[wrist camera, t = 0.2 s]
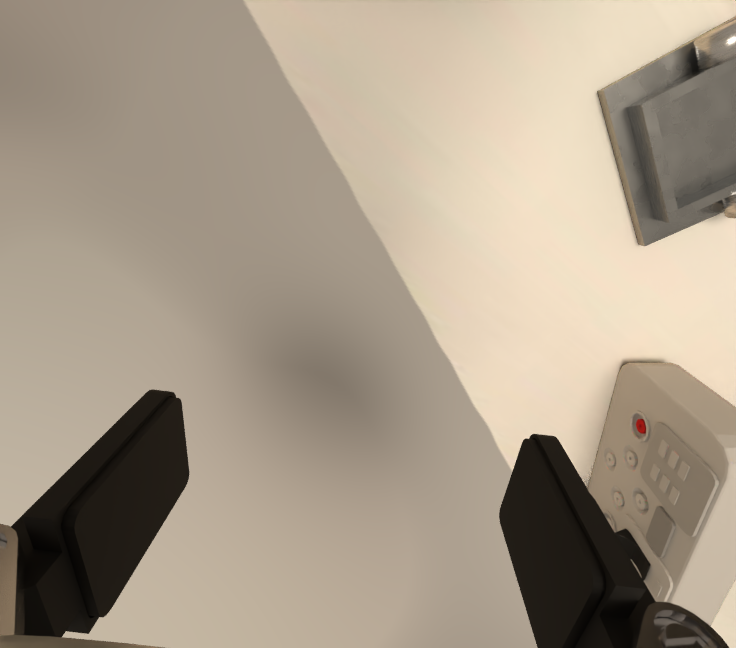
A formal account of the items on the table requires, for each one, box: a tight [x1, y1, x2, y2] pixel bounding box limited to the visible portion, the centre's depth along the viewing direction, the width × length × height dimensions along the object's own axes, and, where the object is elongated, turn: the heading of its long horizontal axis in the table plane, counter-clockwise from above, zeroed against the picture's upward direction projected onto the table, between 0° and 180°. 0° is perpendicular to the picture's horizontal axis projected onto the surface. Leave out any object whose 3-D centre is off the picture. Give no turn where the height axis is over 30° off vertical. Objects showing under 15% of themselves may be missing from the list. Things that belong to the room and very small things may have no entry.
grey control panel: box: [588, 363, 736, 626], centre depth 47 cm, size 29×8×18 cm, turn 1°
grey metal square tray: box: [597, 17, 736, 246], centre depth 37 cm, size 17×18×5 cm
